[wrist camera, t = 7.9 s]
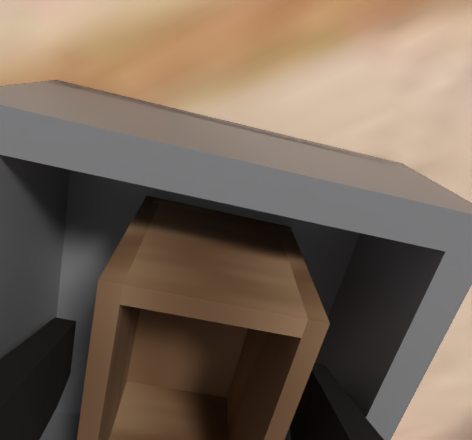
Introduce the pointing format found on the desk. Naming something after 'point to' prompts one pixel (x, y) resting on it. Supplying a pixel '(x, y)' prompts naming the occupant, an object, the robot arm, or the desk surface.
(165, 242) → the small crate
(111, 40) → the desk surface
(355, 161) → the big crate
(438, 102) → the desk surface
